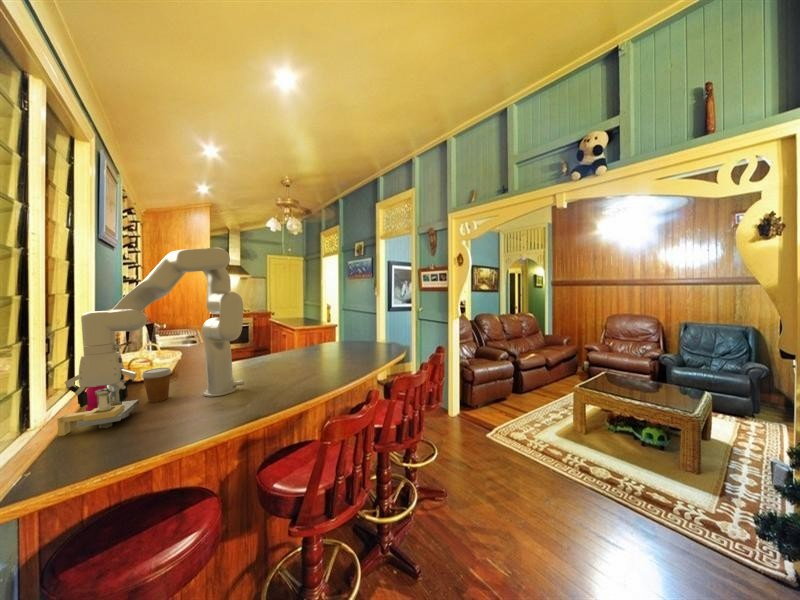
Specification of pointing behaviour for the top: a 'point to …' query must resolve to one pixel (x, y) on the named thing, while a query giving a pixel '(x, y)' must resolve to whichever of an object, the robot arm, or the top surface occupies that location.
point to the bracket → (85, 418)
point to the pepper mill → (92, 397)
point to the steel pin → (104, 403)
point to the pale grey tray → (114, 401)
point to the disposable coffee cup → (157, 383)
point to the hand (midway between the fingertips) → (103, 403)
